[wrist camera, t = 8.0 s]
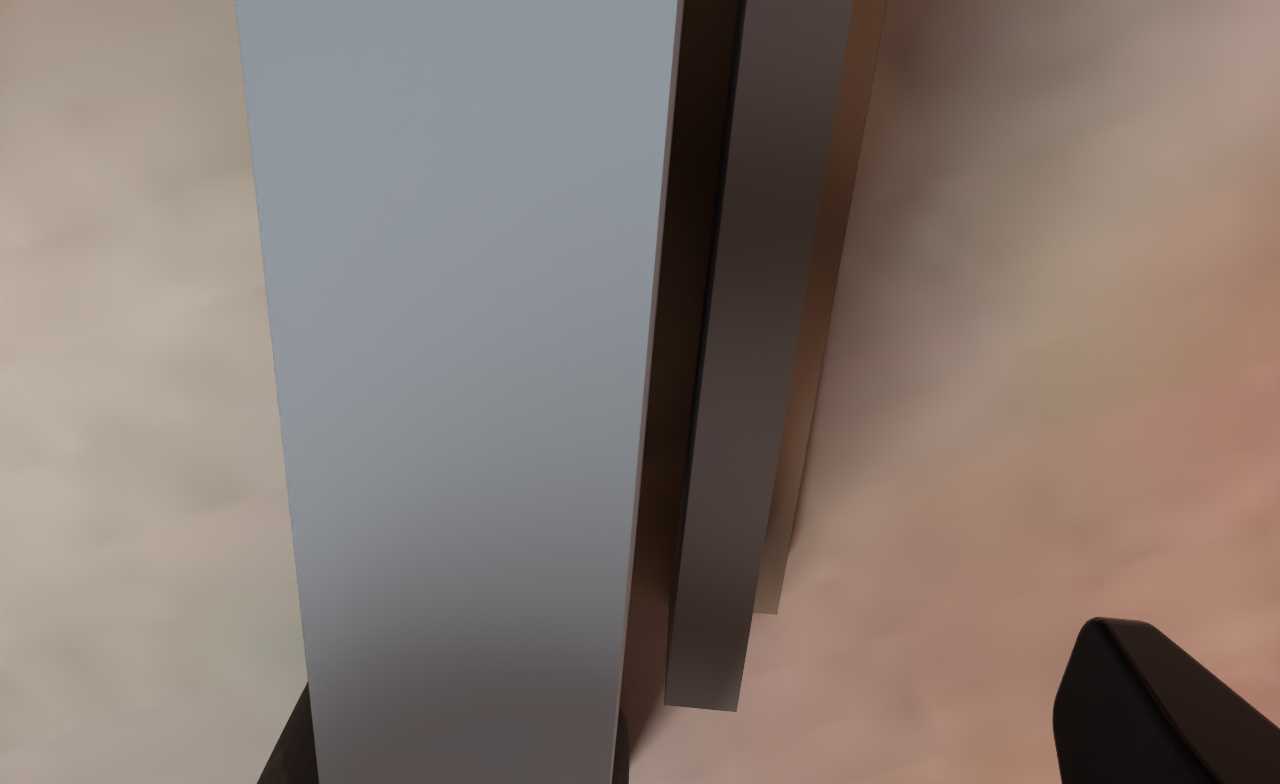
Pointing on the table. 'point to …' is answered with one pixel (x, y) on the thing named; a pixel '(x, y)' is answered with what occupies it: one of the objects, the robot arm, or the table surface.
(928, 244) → the table surface
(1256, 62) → the table surface
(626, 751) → the travel mug
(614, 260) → the door panel
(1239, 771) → the robot arm
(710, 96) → the track base
